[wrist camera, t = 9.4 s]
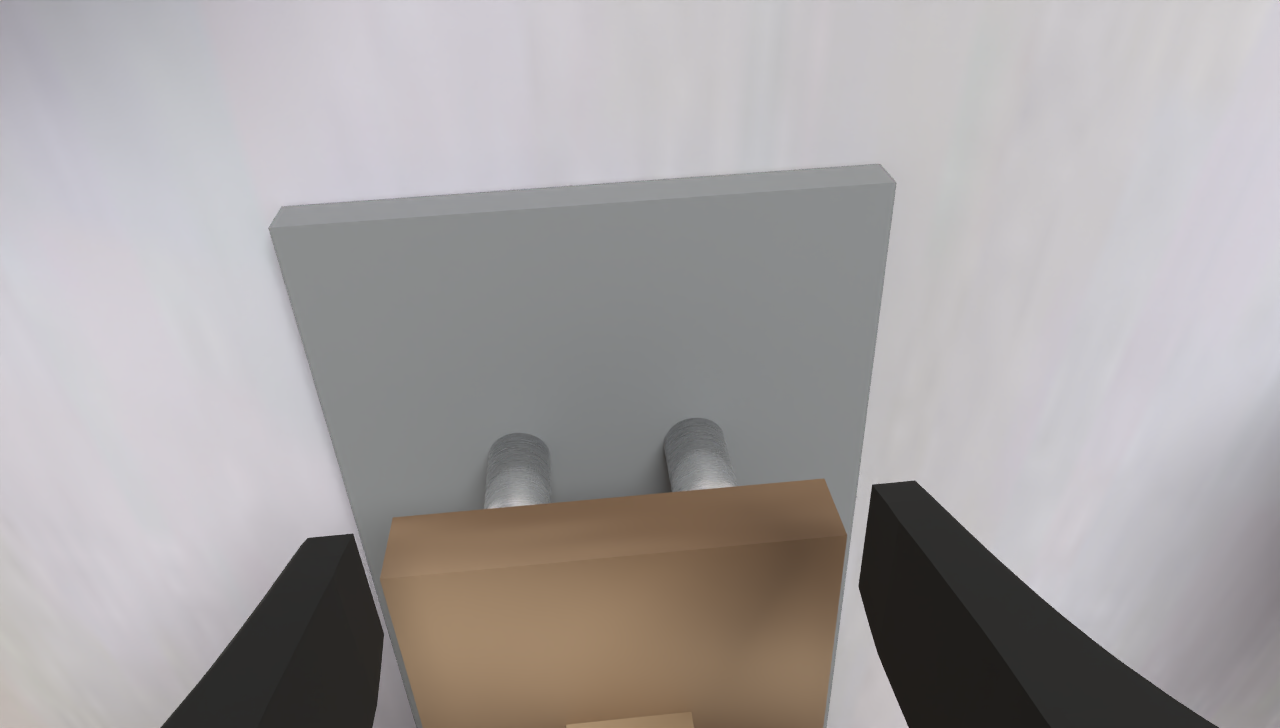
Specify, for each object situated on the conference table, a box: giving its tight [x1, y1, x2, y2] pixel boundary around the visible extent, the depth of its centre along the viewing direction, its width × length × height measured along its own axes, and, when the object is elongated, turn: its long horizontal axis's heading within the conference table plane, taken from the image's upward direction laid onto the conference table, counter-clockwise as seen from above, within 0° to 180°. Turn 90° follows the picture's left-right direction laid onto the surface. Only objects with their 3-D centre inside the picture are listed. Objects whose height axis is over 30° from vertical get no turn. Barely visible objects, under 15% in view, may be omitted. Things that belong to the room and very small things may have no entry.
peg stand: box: [269, 164, 896, 728], centre depth 22 cm, size 12×22×4 cm, turn 2°
